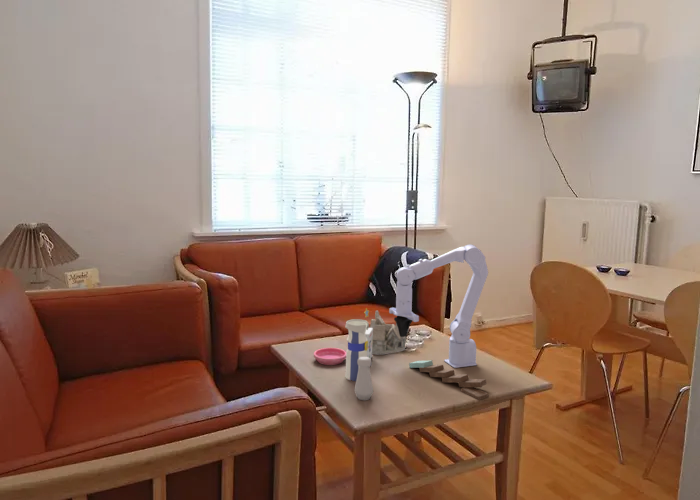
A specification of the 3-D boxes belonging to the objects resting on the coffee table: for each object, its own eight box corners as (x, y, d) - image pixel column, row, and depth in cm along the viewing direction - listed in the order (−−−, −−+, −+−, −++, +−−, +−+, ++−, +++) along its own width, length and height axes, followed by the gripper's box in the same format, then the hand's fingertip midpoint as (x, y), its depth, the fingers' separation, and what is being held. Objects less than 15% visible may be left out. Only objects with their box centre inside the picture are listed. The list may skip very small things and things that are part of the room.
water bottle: (371, 373, 187) (372, 303, 183) (366, 382, 179) (367, 309, 175) (348, 370, 189) (348, 302, 185) (342, 380, 181) (342, 308, 177)
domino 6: (461, 388, 172) (478, 396, 166) (470, 385, 175) (488, 393, 168) (460, 393, 173) (478, 401, 166) (470, 390, 175) (488, 398, 169)
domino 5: (458, 382, 175) (480, 382, 170) (464, 379, 178) (485, 379, 174) (459, 387, 175) (480, 387, 170) (464, 383, 178) (486, 384, 174)
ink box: (359, 356, 204) (359, 326, 203) (372, 357, 203) (373, 327, 202) (355, 363, 196) (355, 332, 194) (369, 365, 195) (369, 333, 193)
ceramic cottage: (360, 352, 208) (363, 314, 206) (373, 341, 224) (376, 306, 222) (398, 359, 203) (402, 321, 201) (409, 348, 218) (412, 312, 216)
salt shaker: (353, 394, 169) (354, 354, 167) (371, 393, 170) (372, 354, 168) (355, 401, 164) (356, 361, 162) (374, 401, 164) (374, 360, 162)
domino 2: (419, 367, 189) (434, 367, 183) (428, 365, 191) (443, 364, 185) (420, 372, 188) (435, 372, 182) (428, 369, 191) (444, 369, 185)
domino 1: (408, 363, 193) (423, 363, 187) (417, 360, 195) (432, 360, 189) (409, 367, 193) (424, 367, 187) (418, 365, 195) (433, 364, 189)
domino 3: (429, 372, 184) (444, 372, 178) (438, 369, 187) (453, 369, 181) (430, 376, 184) (445, 377, 178) (438, 374, 187) (454, 374, 181)
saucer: (351, 364, 196) (352, 356, 195) (319, 368, 191) (319, 360, 191) (339, 353, 207) (340, 345, 207) (309, 357, 203) (309, 349, 202)
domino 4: (441, 377, 179) (460, 377, 174) (449, 374, 182) (467, 374, 177) (442, 382, 179) (461, 382, 174) (450, 379, 182) (468, 379, 177)
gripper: (383, 297, 199) (382, 333, 200) (408, 306, 187) (407, 343, 189) (397, 295, 202) (397, 330, 204) (423, 303, 191) (422, 339, 193)
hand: (403, 336), depth 197 cm, fingers closed
